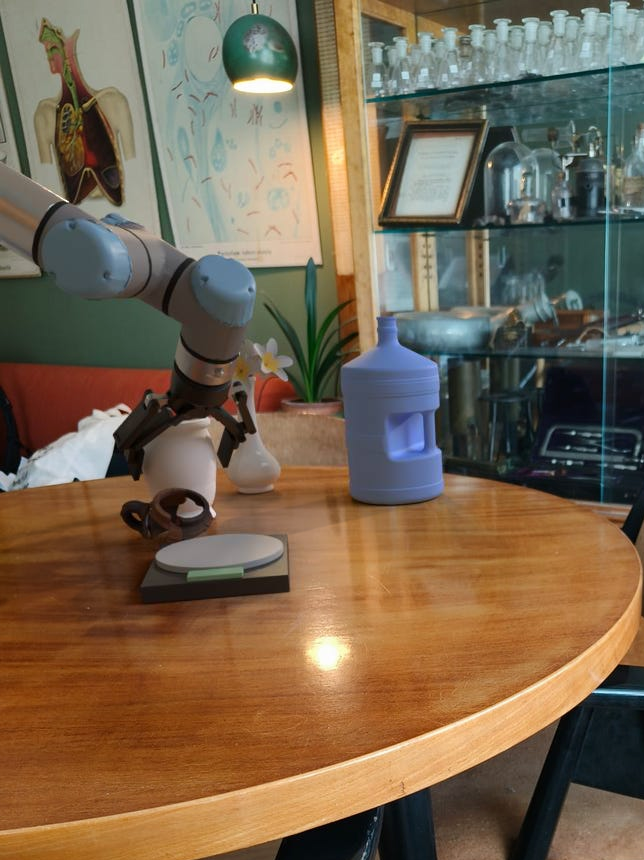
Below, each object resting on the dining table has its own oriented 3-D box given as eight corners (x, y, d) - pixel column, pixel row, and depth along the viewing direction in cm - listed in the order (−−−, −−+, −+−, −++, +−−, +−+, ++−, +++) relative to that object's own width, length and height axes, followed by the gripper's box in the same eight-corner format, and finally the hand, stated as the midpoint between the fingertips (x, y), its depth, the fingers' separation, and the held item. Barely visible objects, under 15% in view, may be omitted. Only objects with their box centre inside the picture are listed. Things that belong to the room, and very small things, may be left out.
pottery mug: (209, 531, 129) (216, 487, 124) (206, 575, 123) (214, 531, 117) (121, 518, 125) (125, 471, 119) (113, 563, 119) (117, 516, 113)
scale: (142, 604, 97) (138, 580, 96) (163, 558, 115) (160, 537, 114) (290, 591, 100) (287, 567, 99) (288, 548, 118) (286, 527, 117)
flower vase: (200, 487, 158) (179, 339, 149) (305, 480, 161) (290, 335, 152) (192, 502, 146) (169, 343, 137) (305, 495, 149) (290, 339, 140)
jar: (154, 531, 128) (136, 426, 123) (148, 516, 137) (131, 418, 131) (228, 522, 132) (215, 420, 127) (217, 509, 141) (204, 412, 135)
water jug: (332, 503, 143) (316, 319, 133) (377, 484, 156) (365, 316, 146) (420, 508, 137) (410, 317, 127) (458, 488, 151) (452, 314, 141)
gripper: (117, 397, 107) (102, 500, 124) (301, 381, 122) (265, 475, 138) (96, 350, 109) (83, 457, 126) (279, 339, 124) (246, 437, 140)
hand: (179, 467), depth 132 cm, fingers open, 13 cm apart
